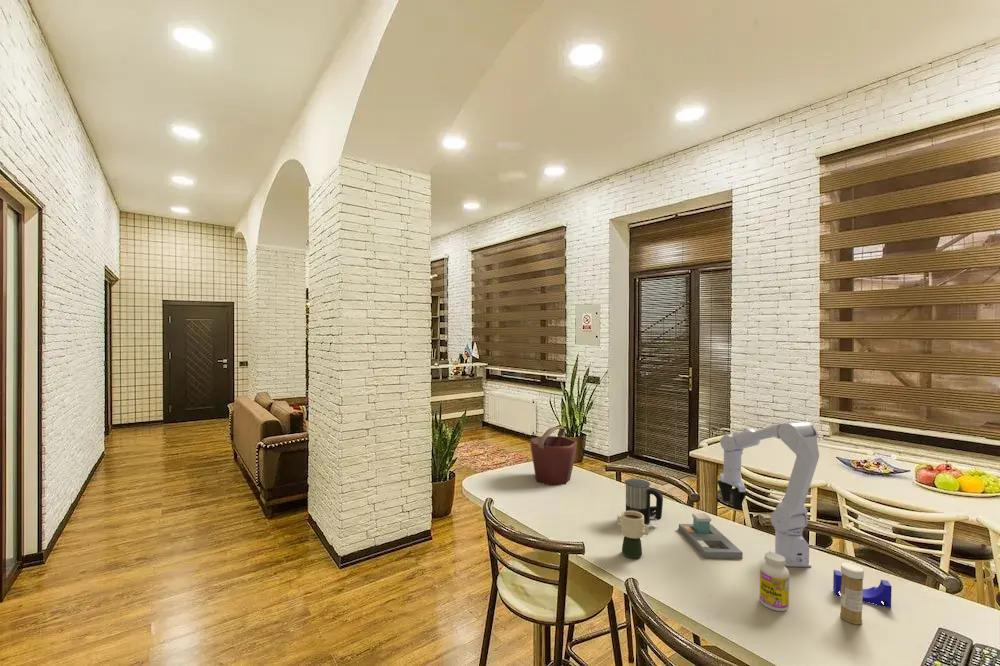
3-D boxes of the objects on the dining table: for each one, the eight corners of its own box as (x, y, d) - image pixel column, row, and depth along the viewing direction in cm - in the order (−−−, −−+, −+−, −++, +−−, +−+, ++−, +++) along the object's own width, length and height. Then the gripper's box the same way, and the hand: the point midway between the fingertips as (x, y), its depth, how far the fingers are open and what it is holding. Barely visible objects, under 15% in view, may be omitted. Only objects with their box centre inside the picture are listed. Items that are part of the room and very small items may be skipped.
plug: (710, 538, 159) (711, 518, 159) (697, 538, 159) (698, 518, 159) (704, 532, 164) (704, 513, 164) (691, 532, 164) (692, 513, 164)
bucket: (554, 469, 236) (555, 421, 236) (587, 480, 219) (588, 428, 219) (519, 478, 220) (520, 427, 220) (552, 491, 203) (553, 435, 203)
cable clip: (885, 599, 124) (886, 578, 124) (891, 608, 120) (891, 586, 120) (832, 588, 130) (832, 567, 129) (835, 596, 125) (836, 574, 125)
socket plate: (742, 558, 145) (742, 551, 145) (705, 558, 145) (705, 550, 145) (711, 529, 166) (711, 523, 166) (678, 529, 166) (678, 523, 166)
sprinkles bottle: (841, 611, 118) (842, 560, 118) (863, 619, 115) (864, 566, 115) (838, 619, 115) (839, 566, 115) (861, 628, 112) (862, 573, 112)
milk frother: (624, 524, 170) (625, 485, 170) (623, 508, 185) (624, 472, 185) (664, 529, 166) (665, 488, 166) (660, 512, 182) (661, 475, 181)
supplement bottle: (755, 603, 121) (756, 555, 121) (764, 594, 125) (765, 548, 125) (783, 615, 116) (784, 565, 116) (792, 606, 120) (793, 557, 120)
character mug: (653, 557, 145) (653, 516, 145) (642, 565, 140) (643, 523, 140) (622, 545, 153) (623, 507, 153) (611, 552, 148) (611, 512, 148)
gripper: (711, 461, 173) (711, 497, 173) (731, 473, 158) (730, 512, 159) (730, 462, 173) (729, 497, 173) (751, 474, 159) (751, 512, 159)
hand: (731, 504), depth 166 cm, fingers open, 7 cm apart
